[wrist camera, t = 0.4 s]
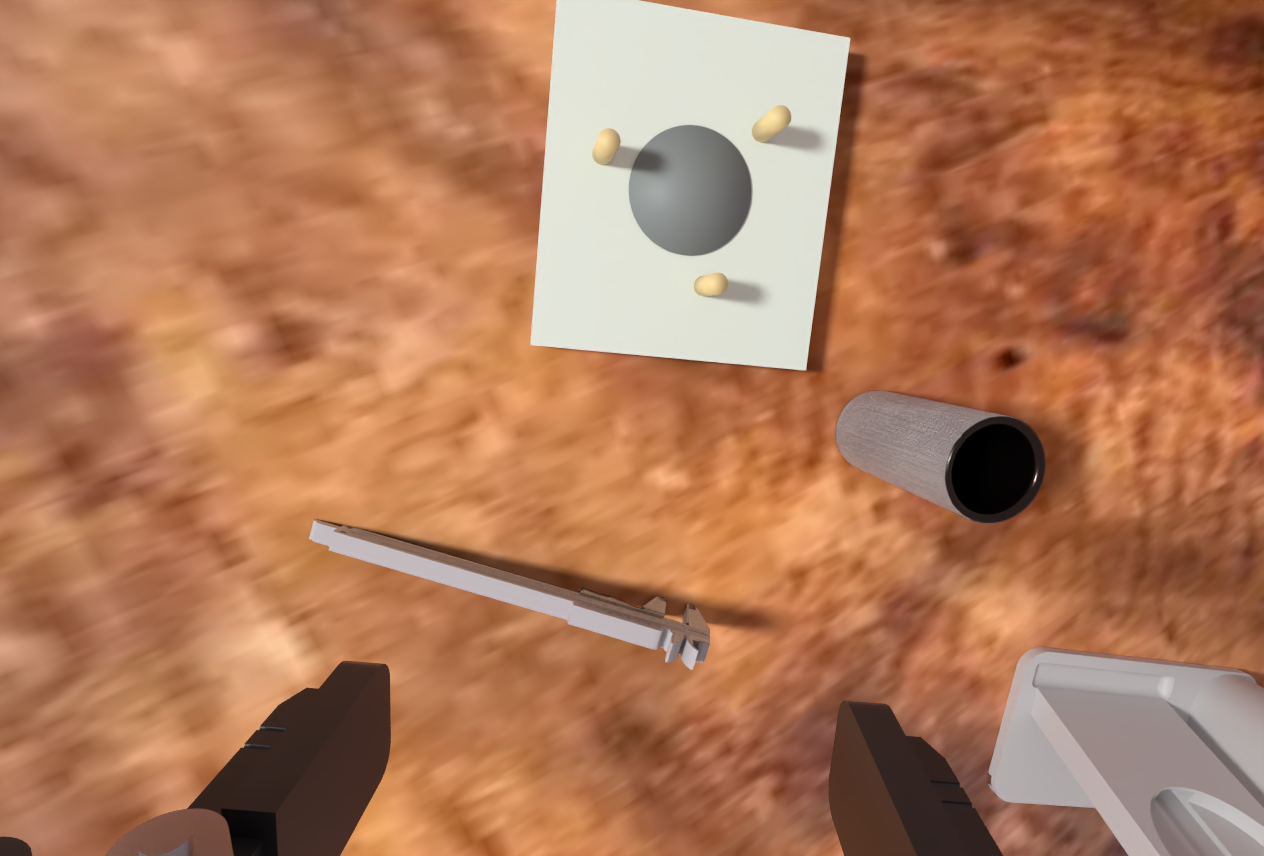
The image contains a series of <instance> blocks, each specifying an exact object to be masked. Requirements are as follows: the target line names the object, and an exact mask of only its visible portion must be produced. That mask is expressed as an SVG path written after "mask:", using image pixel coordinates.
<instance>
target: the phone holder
mask: <svg viewBox="0 0 1264 856" xmlns="http://www.w3.org/2000/svg"><path fill="white" fill-rule="evenodd" d="M989 774H990V775H991V776H992V778H991V783H988V784H989V786H990V788H991V789H992V790H993V791H994V792H995V793H996V794H997V795H998V796H999V797H1000V798H1001V799H1002V800H1004V801H1006V802H1015V803H1030V804H1045V805H1060V806H1075V807H1090V808H1096V809H1097V811H1098V812H1099V814H1100V815H1101V816H1102V818H1103V819H1104V821H1105V822H1106V824H1107V825H1108V826H1109V828H1110V829H1111V831H1112V832H1113V834H1114V835H1115V837H1116V838H1117V839H1118V841H1119V842H1120V844H1121V845H1122V847H1123V848H1124V850H1125V851H1126V852H1127V854H1128V855H1129V856H1264V688H1263V687H1261V686H1259V685H1257V683H1256V681H1255V679H1254V678H1253V677H1252V676H1251V675H1249V674H1247V673H1245V672H1243V671H1241V670H1239V669H1235V668H1227V667H1218V666H1209V665H1201V664H1192V663H1183V662H1174V661H1165V660H1156V659H1147V658H1138V657H1129V656H1120V655H1111V654H1102V653H1093V652H1084V651H1075V650H1066V649H1057V648H1049V647H1035V648H1032V649H1030V650H1029V651H1027V652H1026V653H1025V654H1024V655H1023V656H1022V657H1021V658H1020V660H1019V662H1018V664H1017V667H1016V671H1015V675H1014V678H1013V682H1012V686H1011V690H1010V693H1009V697H1008V701H1007V705H1006V709H1005V712H1004V716H1003V720H1002V724H1001V727H1000V731H999V735H998V739H997V742H996V746H995V750H994V754H993V758H992V761H991V765H990V769H989Z"/></svg>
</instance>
